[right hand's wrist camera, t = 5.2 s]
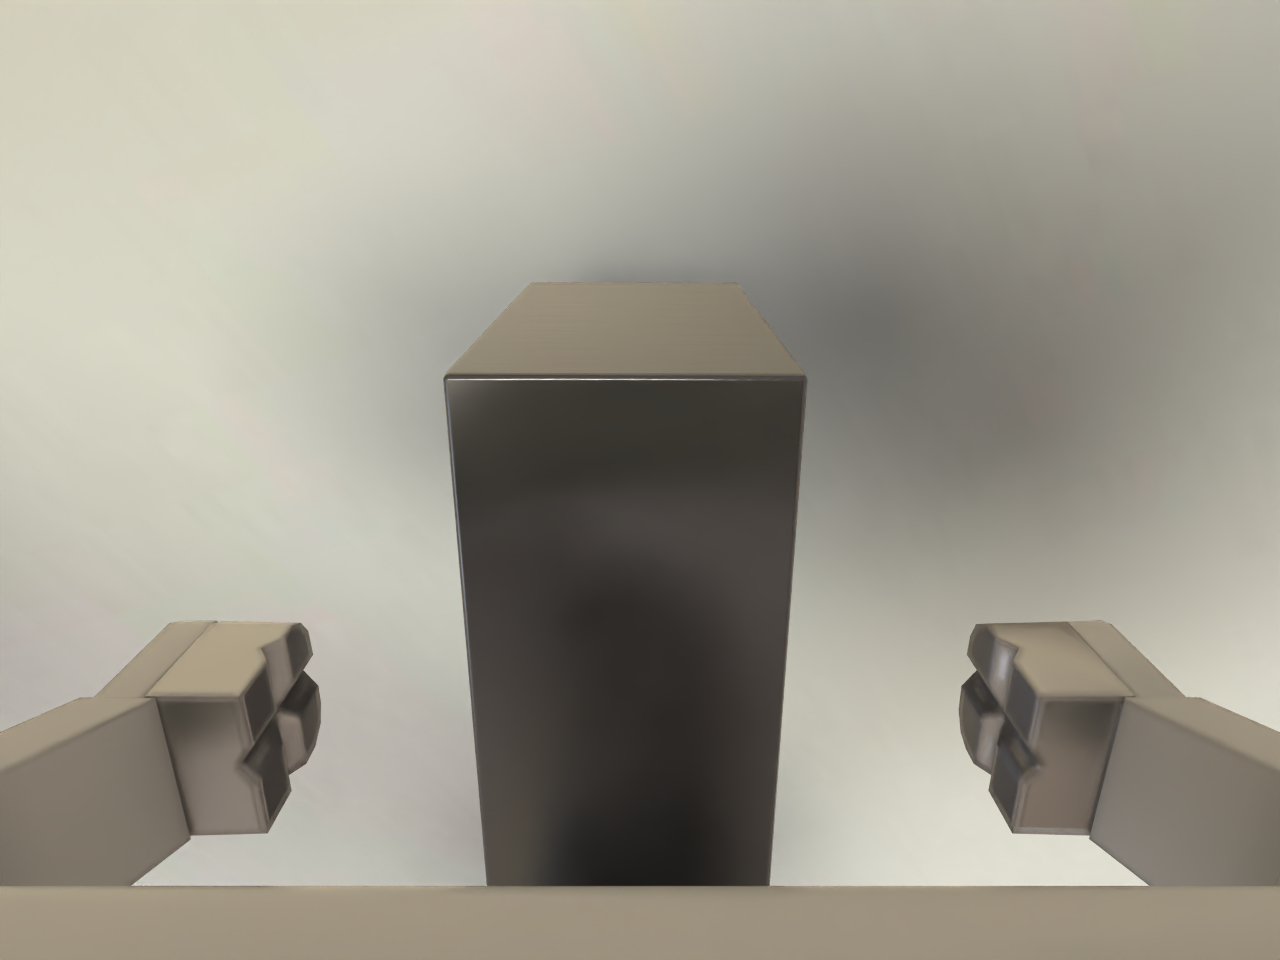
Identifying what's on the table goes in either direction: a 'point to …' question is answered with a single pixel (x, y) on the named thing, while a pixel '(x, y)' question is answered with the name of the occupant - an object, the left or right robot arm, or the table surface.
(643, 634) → the bar
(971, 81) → the table surface
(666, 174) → the table surface
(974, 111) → the table surface
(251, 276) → the table surface
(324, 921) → the right robot arm
